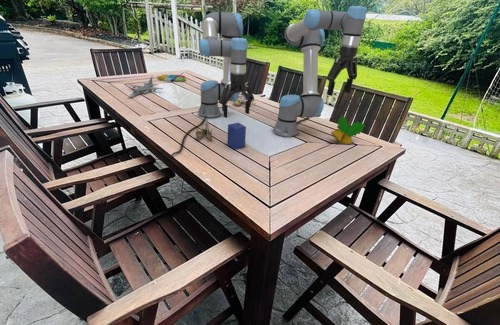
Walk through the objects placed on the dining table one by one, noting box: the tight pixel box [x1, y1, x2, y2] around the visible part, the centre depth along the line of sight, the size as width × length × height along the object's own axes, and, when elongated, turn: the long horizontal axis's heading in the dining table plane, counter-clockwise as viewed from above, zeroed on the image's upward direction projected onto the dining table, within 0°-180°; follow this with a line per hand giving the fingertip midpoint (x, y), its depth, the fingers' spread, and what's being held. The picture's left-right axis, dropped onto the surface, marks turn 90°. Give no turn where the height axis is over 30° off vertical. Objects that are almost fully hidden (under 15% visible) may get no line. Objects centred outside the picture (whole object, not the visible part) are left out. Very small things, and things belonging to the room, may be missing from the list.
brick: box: [227, 122, 247, 150], centre depth 143 cm, size 7×7×12 cm
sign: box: [156, 74, 187, 83], centre depth 278 cm, size 26×2×30 cm
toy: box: [232, 91, 257, 106], centre depth 219 cm, size 28×7×30 cm
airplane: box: [127, 75, 164, 99], centre depth 224 cm, size 38×31×10 cm
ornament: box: [330, 114, 367, 145], centre depth 158 cm, size 21×8×15 cm, turn 105°
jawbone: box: [195, 119, 213, 141], centre depth 151 cm, size 9×15×10 cm
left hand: (236, 115), depth 137 cm, fingers open, 13 cm apart
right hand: (338, 93), depth 127 cm, fingers open, 13 cm apart
